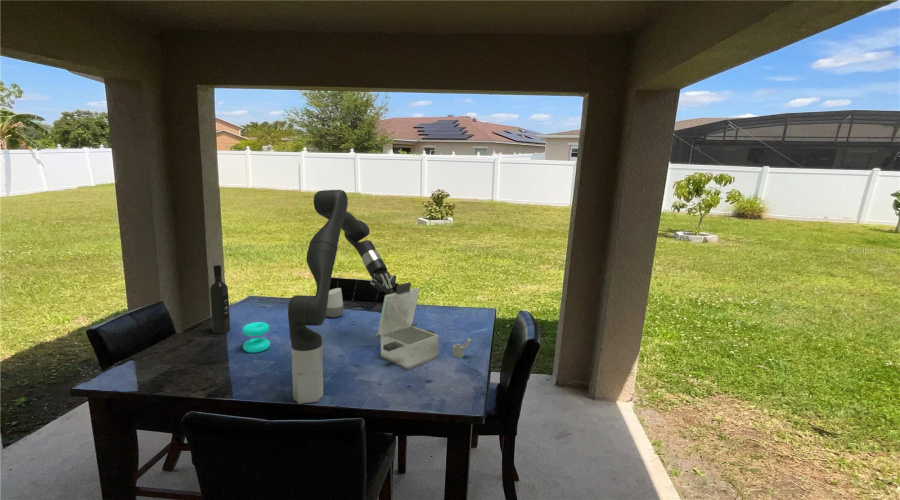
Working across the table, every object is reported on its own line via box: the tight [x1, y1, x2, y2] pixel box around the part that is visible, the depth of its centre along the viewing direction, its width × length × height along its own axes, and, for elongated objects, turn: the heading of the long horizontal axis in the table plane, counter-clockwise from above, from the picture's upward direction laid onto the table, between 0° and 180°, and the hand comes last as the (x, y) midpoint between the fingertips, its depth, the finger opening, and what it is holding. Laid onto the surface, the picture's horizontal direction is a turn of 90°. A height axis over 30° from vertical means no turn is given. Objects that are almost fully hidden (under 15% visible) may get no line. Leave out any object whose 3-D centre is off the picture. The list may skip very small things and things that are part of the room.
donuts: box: [241, 321, 271, 354], centre depth 176 cm, size 10×10×10 cm
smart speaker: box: [325, 287, 344, 319], centre depth 218 cm, size 10×9×14 cm
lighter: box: [452, 337, 472, 359], centre depth 173 cm, size 7×2×8 cm, turn 76°
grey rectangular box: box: [373, 322, 440, 370], centre depth 172 cm, size 17×24×10 cm
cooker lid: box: [377, 282, 420, 336], centre depth 173 cm, size 20×17×1 cm
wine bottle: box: [209, 264, 231, 335], centre depth 191 cm, size 6×6×30 cm
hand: (393, 297), depth 175 cm, fingers closed
